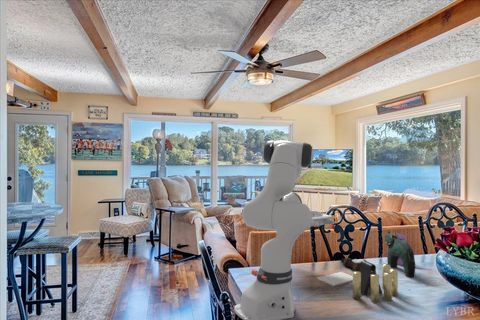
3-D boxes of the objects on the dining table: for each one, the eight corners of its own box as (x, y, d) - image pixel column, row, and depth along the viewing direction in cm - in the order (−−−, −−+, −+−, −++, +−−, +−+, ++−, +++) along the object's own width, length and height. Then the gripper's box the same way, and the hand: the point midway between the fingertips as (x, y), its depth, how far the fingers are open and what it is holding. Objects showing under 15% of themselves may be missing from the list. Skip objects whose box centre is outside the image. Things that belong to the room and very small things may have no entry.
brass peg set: (373, 307, 117) (373, 280, 117) (351, 297, 125) (351, 272, 125) (407, 294, 128) (407, 269, 128) (385, 286, 137) (385, 263, 137)
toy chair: (393, 264, 167) (393, 236, 167) (389, 259, 175) (389, 232, 176) (410, 265, 165) (410, 237, 165) (405, 260, 174) (405, 233, 174)
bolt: (344, 267, 167) (361, 276, 153) (337, 263, 167) (353, 271, 152) (349, 257, 168) (367, 265, 154) (342, 253, 167) (358, 260, 153)
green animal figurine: (383, 264, 167) (383, 226, 167) (395, 264, 167) (395, 226, 167) (406, 278, 147) (406, 235, 147) (419, 278, 147) (419, 234, 148)
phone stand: (363, 295, 127) (363, 265, 127) (354, 289, 133) (354, 261, 133) (382, 293, 130) (382, 263, 130) (372, 287, 136) (372, 259, 136)
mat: (333, 286, 137) (333, 284, 137) (316, 278, 145) (316, 277, 145) (358, 279, 145) (358, 278, 145) (340, 272, 153) (340, 271, 154)
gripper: (290, 214, 158) (310, 218, 146) (320, 211, 168) (340, 215, 157) (290, 227, 158) (310, 232, 146) (320, 223, 168) (340, 228, 156)
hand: (326, 223), depth 151 cm, fingers open, 8 cm apart
